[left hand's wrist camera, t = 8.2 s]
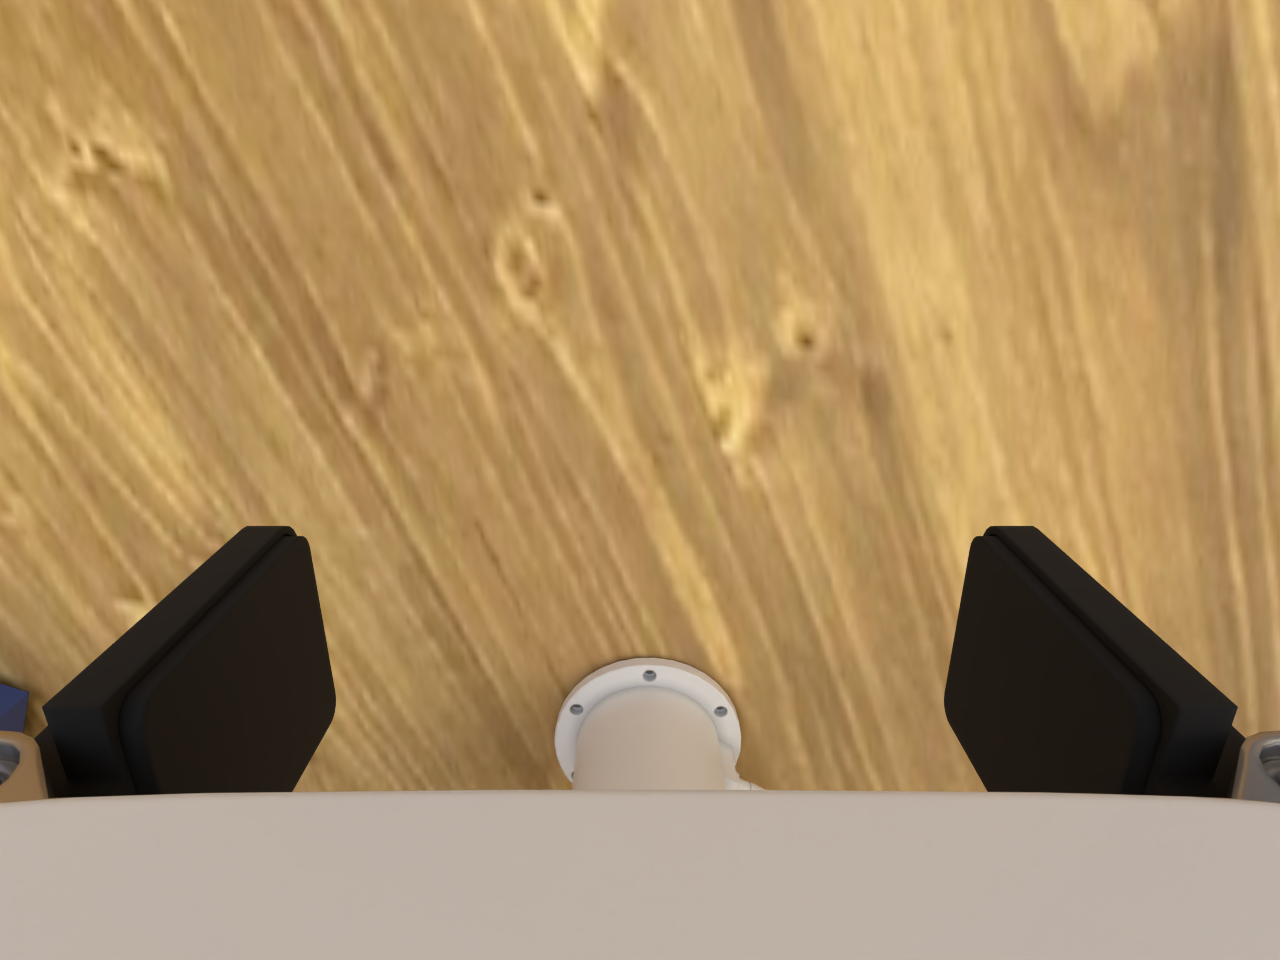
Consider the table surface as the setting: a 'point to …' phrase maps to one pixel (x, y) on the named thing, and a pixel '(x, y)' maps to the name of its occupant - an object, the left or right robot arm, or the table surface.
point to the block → (12, 708)
